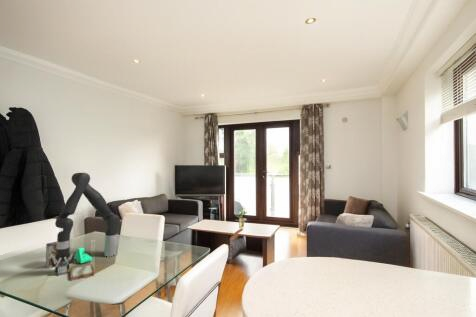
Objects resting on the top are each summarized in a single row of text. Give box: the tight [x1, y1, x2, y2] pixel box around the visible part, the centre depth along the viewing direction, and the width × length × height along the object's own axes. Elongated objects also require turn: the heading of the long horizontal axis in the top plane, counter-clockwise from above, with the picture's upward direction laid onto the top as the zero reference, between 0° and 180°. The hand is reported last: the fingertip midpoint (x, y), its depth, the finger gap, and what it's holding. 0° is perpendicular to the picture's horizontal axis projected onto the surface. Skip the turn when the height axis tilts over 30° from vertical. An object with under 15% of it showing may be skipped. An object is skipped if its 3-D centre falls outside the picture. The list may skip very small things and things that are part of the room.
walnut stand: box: [69, 264, 95, 282], centre depth 165 cm, size 13×13×2 cm
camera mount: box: [74, 246, 93, 264], centre depth 183 cm, size 12×8×10 cm, turn 53°
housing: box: [57, 261, 68, 277], centre depth 165 cm, size 5×8×6 cm, turn 37°
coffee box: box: [45, 241, 57, 269], centre depth 173 cm, size 9×6×16 cm
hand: (62, 270), depth 165 cm, fingers closed on housing, 5 cm apart
